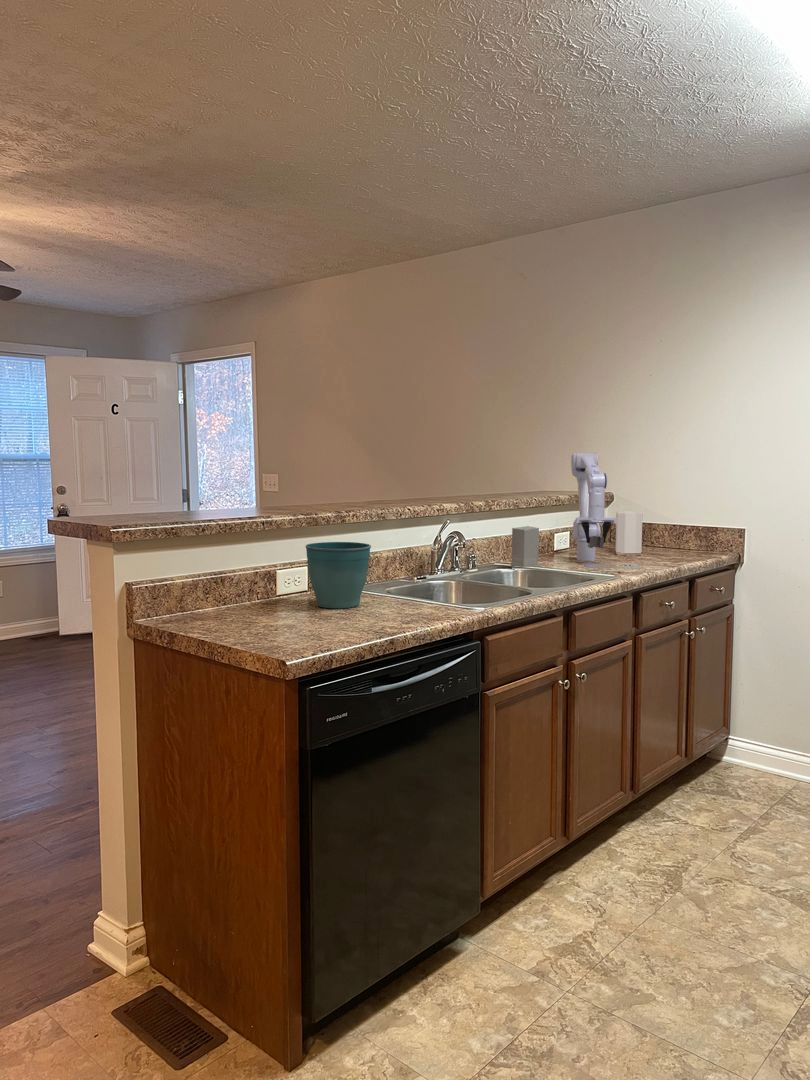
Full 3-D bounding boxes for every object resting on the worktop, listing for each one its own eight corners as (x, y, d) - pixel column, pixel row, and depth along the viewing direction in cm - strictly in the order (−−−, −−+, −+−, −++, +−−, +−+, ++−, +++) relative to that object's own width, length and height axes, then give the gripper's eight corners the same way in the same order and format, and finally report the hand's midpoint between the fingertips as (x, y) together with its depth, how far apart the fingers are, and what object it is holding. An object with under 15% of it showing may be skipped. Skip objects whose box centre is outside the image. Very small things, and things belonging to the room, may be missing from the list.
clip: (587, 546, 301) (588, 535, 300) (601, 546, 300) (601, 536, 300) (589, 547, 296) (590, 537, 295) (603, 548, 295) (603, 537, 295)
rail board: (581, 567, 305) (581, 562, 305) (635, 567, 304) (635, 563, 303) (586, 572, 292) (586, 567, 291) (643, 572, 290) (643, 568, 290)
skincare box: (525, 567, 304) (525, 525, 302) (539, 569, 298) (540, 527, 297) (509, 569, 298) (510, 527, 297) (524, 571, 293) (524, 528, 291)
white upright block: (644, 554, 347) (646, 511, 345) (637, 557, 337) (638, 513, 335) (619, 553, 352) (620, 510, 351) (611, 555, 343) (612, 512, 341)
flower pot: (383, 603, 227) (383, 543, 226) (347, 613, 212) (346, 549, 210) (331, 598, 236) (330, 540, 235) (292, 607, 221) (292, 546, 219)
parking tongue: (554, 566, 308) (554, 562, 308) (575, 566, 308) (575, 562, 307) (556, 568, 300) (556, 564, 300) (578, 569, 300) (578, 565, 299)
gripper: (577, 506, 293) (577, 543, 295) (618, 506, 292) (617, 543, 293) (575, 505, 300) (574, 541, 302) (615, 505, 299) (614, 542, 300)
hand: (595, 542), depth 298 cm, fingers closed on clip, 5 cm apart
